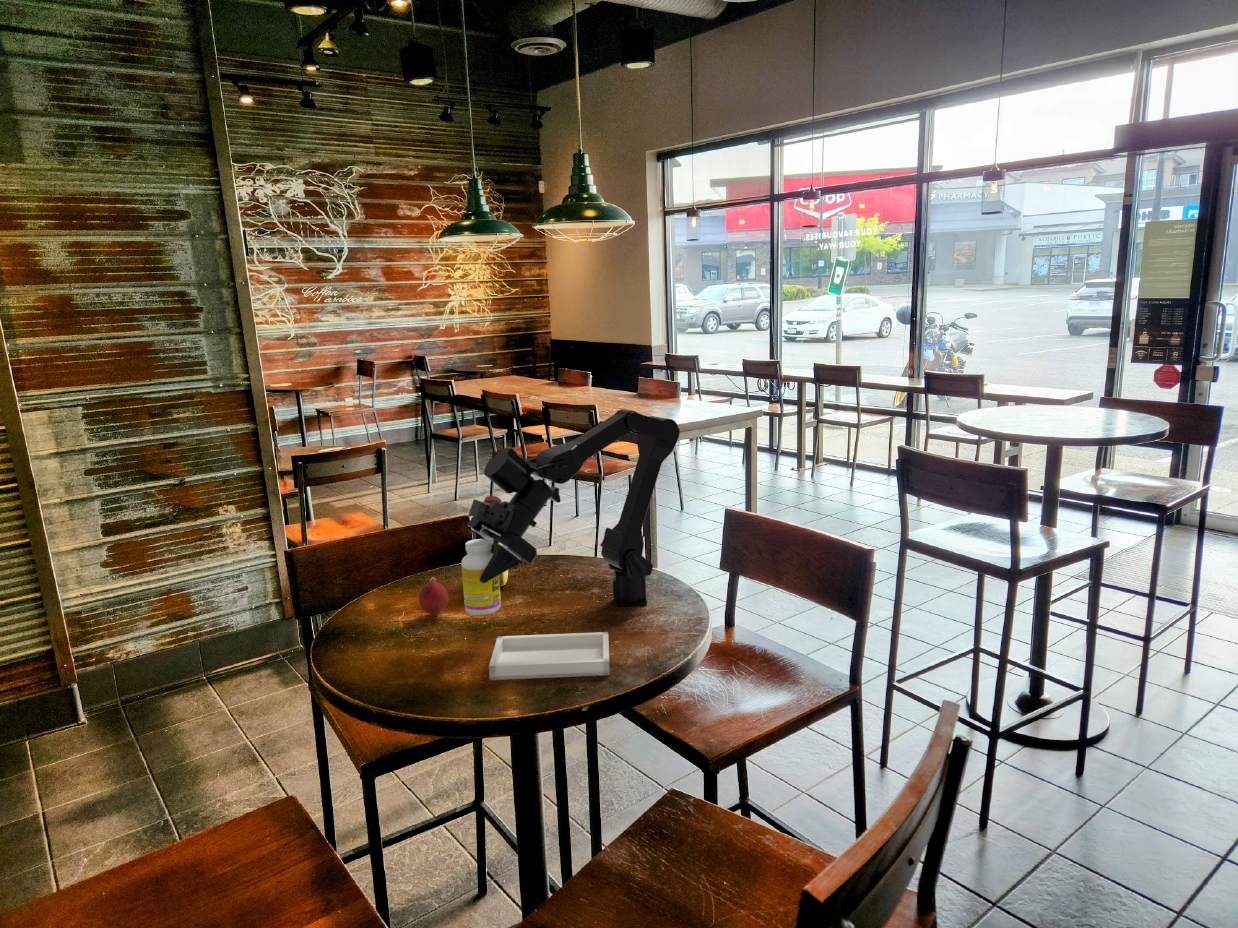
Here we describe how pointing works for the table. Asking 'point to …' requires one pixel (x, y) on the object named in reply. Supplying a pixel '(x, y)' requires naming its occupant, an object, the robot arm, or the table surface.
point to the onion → (433, 597)
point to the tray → (550, 656)
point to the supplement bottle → (476, 593)
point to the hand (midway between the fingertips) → (473, 576)
